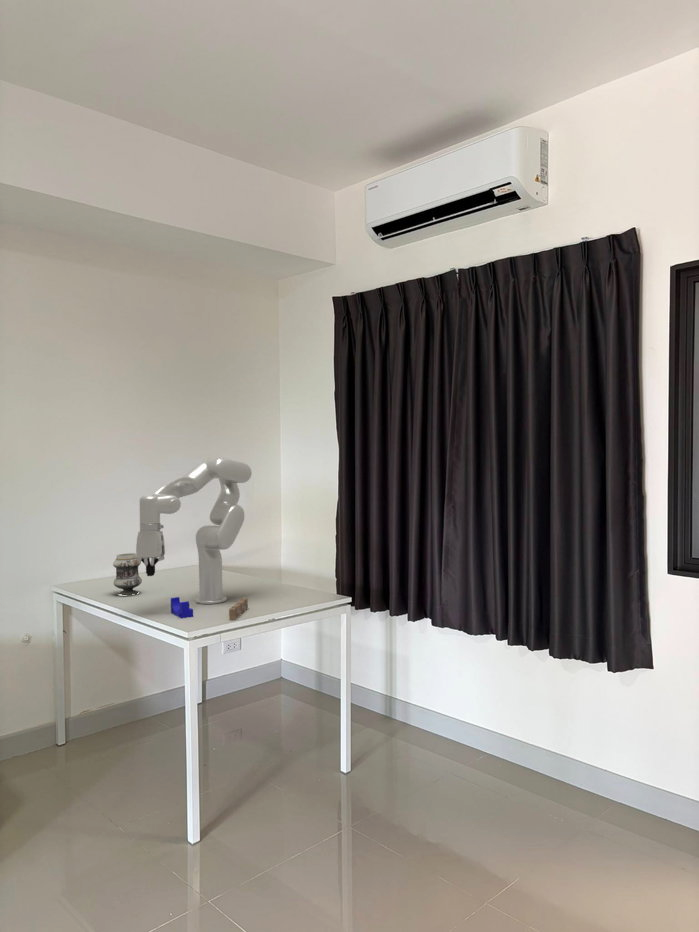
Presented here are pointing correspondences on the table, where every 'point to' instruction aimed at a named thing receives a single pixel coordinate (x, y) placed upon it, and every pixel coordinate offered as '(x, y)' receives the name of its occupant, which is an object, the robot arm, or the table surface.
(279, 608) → the table surface
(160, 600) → the table surface
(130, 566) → the apothecary jar
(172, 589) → the table surface
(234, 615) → the walnut rail
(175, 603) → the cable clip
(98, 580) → the table surface
